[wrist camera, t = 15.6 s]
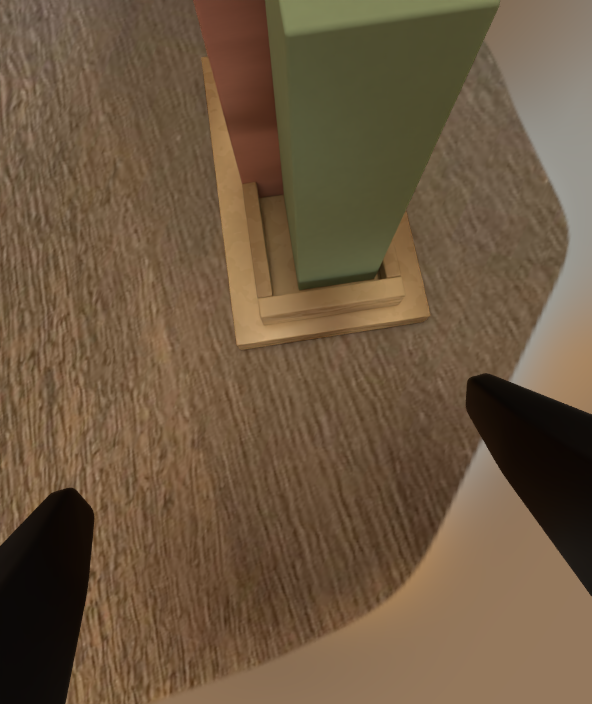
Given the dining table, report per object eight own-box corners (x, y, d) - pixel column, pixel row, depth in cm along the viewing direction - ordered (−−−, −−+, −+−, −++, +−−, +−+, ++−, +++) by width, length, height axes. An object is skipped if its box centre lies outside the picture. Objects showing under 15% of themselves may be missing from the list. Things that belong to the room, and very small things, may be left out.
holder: (362, 51, 24) (410, -271, 13) (424, 322, 20) (563, 197, 9) (206, 75, 24) (120, -228, 13) (240, 350, 20) (161, 258, 9)
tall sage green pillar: (355, 186, 21) (436, -206, 8) (374, 279, 20) (503, 0, 7) (283, 197, 21) (247, -178, 8) (298, 290, 19) (284, 33, 7)
